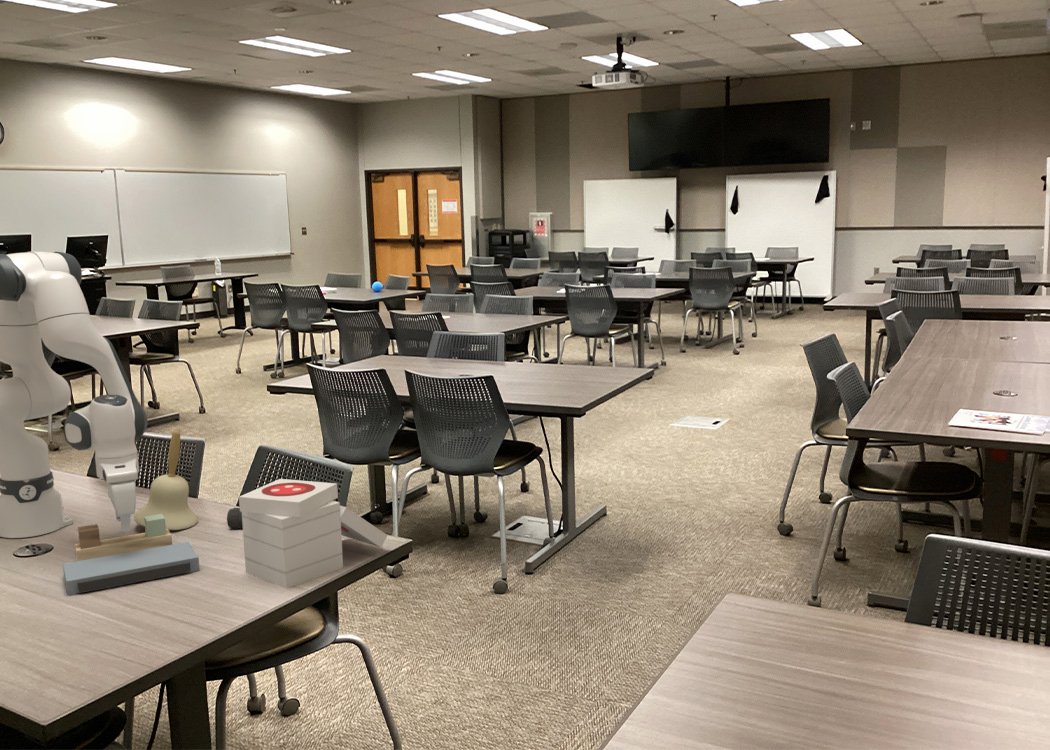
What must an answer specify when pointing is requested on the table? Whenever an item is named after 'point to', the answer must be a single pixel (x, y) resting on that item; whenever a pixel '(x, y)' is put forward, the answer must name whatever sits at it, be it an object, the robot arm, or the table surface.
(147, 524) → the block
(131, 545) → the pallet
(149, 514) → the handbell
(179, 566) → the dock
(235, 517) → the flashlight
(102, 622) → the table surface
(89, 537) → the block
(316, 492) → the pizza boxes
